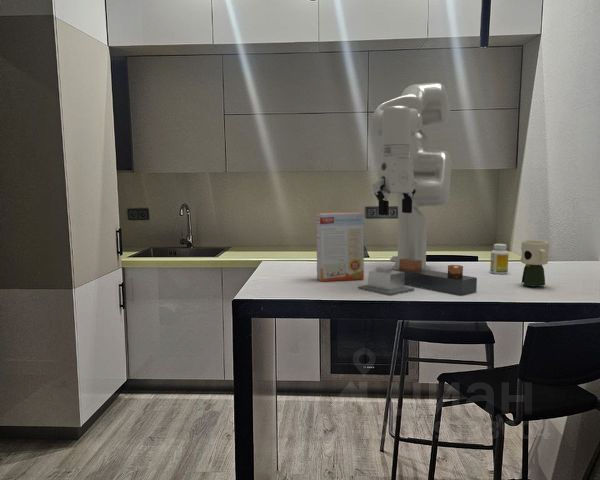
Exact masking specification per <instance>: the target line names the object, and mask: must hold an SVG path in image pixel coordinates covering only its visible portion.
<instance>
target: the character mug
mask: <svg viewBox="0 0 600 480" xmlns="http://www.w3.org/2000/svg"><path fill="white" fill-rule="evenodd" d="M549 246H550V242H549V241H545V240H536V239H535V240H531V239H530V240H522V241H521V247H520V249H521V257H520V261H521V263H522V264H523V265H524V264H525V265H524V267H523V273H522V278H521V285H523V286H528V287H535V288H537V287H538V286H545V285H546V277H545V276H546V275H545V268H544V266H543V265H548V263H549V249H550V247H549Z"/></svg>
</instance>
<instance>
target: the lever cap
mask: <svg viewBox="0 0 600 480" xmlns="http://www.w3.org/2000/svg"><path fill="white" fill-rule="evenodd" d="M392 269H393V268H390V267H389V268H387V267H381V266H380V267H379V266H378V267H376V268H375V269H372V270H368V285H369V287H373V288H377V289H382V290H387V291H393V290H398V289H403V288H404V287H405V285H404V284H405V272H400V271H394V270H392Z"/></svg>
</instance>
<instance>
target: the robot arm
mask: <svg viewBox="0 0 600 480" xmlns="http://www.w3.org/2000/svg"><path fill="white" fill-rule="evenodd" d="M449 100H450V99H449V94H448V91H447V88H446V87H445V85H443V84H442V83H441V82H428V83H427V82H426V83H414V84H411V85H409V86H406V88H404V89H403V90H402V93H401V94H400V96H398V97H395V98H393V99H390V100H388V101H387V100H386V101H385V102H383V103H381V104H379V105H378V106H377V107H376V109H375V110H374V111H373V114H372V117H371V122H370V123H371V125H370V126H371V130H372V132H373V133H374V135H375V136H377V137H382V146H381V147H382V148H381V155H382V157H381V158H380V164H379V173H378V175H379V176H378V180H377V181H376V182H374V183H373V184H372V189H373V192H374V193H373V194H374V196H375V197H376V201H378V215H379V216H389V212H390V211H389V208H390V205H389V200H388V198H389V197H390V194H395V195H396V203H397V216H398V217H397V218H398V220H397V255H396V256H394V255H393V256H391V257H390V259H389V261H390V262H391V263H394V265H393V267H392V269H397V268H399V259H404V258H408V259H415V260H422V269H425V270H431V267H430V266H428V265H427V234H428V233H427V229H428V227H427V226H428V222H427V221H428V219H427V217H426V215H425V214H424V213H423V211H422V209H420V207H444V206H445V205H447V204H448V202H449V200H450V192H451V190H450V189H451V174H452V158H451V155H450V153H449V152H448V151H446V150H442V149H431V142H432V141H431V139H430V137H429V136H428V135H427V133H426V132H425V131H424V130H422V126H424V127H425V126H439V125H441V126H442V125H445V124H447V123H448V122H449V120H450V118H451V104H450V101H449Z"/></svg>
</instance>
